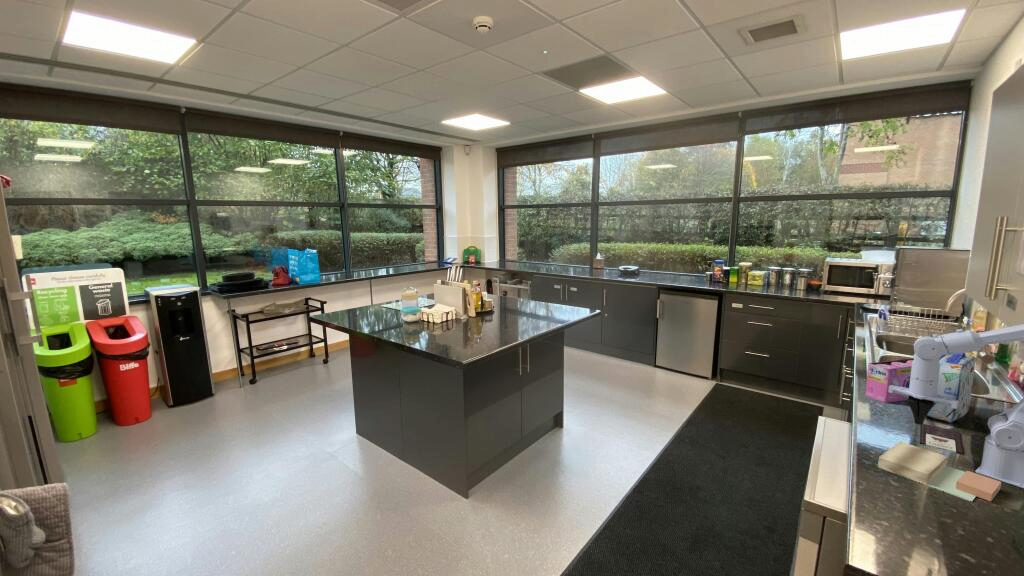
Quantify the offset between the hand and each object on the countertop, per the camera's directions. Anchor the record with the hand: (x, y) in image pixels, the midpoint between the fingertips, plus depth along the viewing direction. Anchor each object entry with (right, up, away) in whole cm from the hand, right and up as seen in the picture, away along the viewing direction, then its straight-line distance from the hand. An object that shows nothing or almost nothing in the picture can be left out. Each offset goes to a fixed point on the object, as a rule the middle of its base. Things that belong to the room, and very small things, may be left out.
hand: (918, 423), depth 122 cm
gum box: (+33, -4, +43) cm, 55 cm away
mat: (-3, -11, -13) cm, 18 cm away
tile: (-1, -9, -17) cm, 19 cm away
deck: (-7, -10, -6) cm, 14 cm away
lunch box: (+36, -6, +27) cm, 45 cm away
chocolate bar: (+16, -9, +10) cm, 21 cm away
